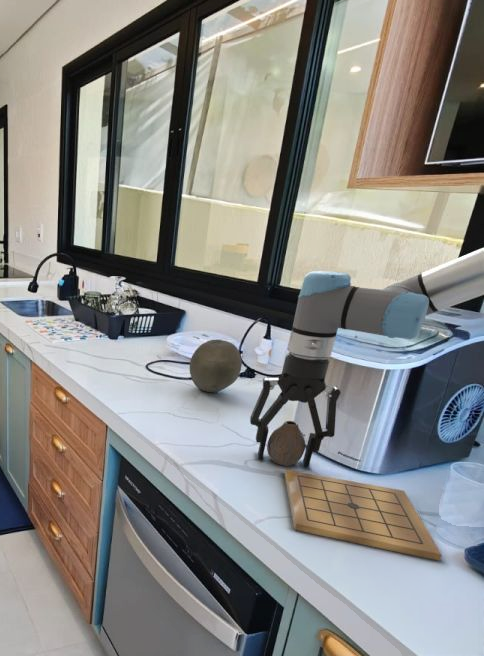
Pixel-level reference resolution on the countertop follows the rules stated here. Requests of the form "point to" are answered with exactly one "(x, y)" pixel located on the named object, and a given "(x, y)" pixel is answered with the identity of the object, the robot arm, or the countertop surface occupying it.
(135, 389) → the countertop surface
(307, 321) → the robot arm
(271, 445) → the vase
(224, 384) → the cantaloupe
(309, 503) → the board
